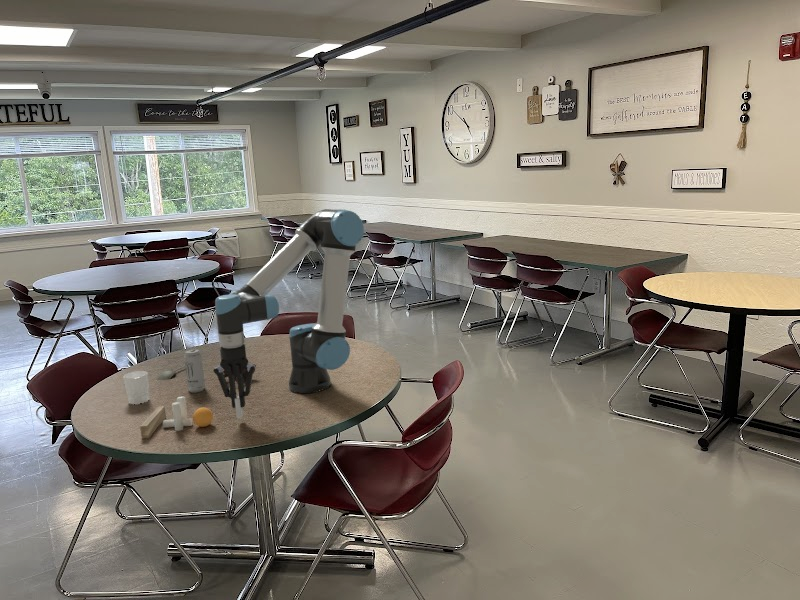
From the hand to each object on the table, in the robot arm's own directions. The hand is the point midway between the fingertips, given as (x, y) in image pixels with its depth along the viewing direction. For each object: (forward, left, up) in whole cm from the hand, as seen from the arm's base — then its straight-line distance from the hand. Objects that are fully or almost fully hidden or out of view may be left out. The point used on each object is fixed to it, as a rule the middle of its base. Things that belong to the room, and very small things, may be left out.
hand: (240, 416), depth 191 cm
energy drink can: (+23, -33, -2) cm, 40 cm away
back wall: (+27, 0, -2) cm, 27 cm away
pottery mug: (+9, -41, -2) cm, 42 cm away
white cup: (+41, -25, -2) cm, 48 cm away
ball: (+11, +1, +1) cm, 11 cm away
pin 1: (+18, -2, -2) cm, 19 cm away
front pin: (+15, 0, -1) cm, 15 cm away
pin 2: (+18, +2, -2) cm, 19 cm away
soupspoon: (+37, -57, -3) cm, 68 cm away
